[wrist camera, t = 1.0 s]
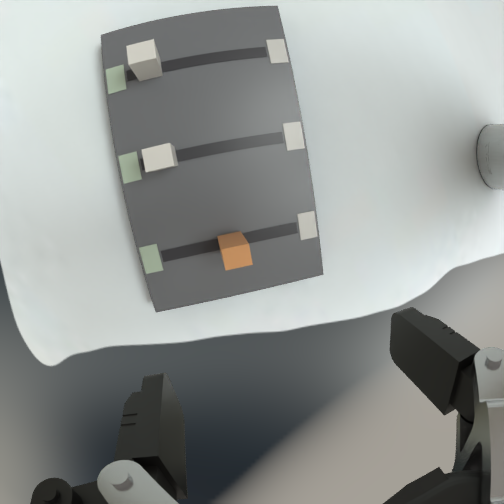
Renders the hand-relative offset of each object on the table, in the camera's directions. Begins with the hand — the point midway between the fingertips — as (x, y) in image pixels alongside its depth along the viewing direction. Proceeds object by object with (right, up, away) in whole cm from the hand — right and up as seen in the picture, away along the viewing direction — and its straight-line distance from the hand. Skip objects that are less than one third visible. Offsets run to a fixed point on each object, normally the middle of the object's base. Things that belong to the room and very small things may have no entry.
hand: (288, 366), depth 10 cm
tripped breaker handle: (-3, +5, +17) cm, 18 cm away
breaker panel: (-5, +13, +17) cm, 22 cm away
